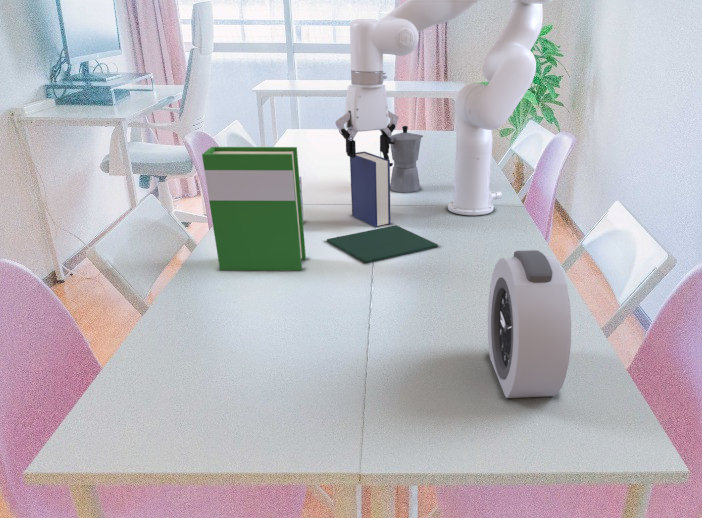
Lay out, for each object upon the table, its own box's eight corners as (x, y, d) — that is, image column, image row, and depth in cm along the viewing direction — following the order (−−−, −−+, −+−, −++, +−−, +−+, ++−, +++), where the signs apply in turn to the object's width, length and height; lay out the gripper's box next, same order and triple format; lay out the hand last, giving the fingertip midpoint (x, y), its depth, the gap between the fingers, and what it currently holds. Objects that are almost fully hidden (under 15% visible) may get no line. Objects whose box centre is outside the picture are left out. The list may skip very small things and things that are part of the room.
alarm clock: (485, 345, 114) (493, 232, 103) (527, 343, 114) (540, 231, 104) (511, 413, 96) (525, 284, 85) (562, 410, 96) (581, 282, 86)
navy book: (366, 213, 180) (364, 151, 171) (390, 224, 172) (389, 160, 163) (352, 215, 178) (349, 153, 169) (375, 227, 169) (374, 162, 161)
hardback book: (305, 258, 150) (296, 147, 137) (301, 270, 143) (291, 154, 131) (227, 258, 150) (211, 146, 137) (219, 270, 143) (201, 154, 131)
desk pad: (396, 227, 169) (396, 225, 169) (437, 246, 157) (437, 244, 156) (326, 241, 160) (326, 239, 159) (365, 263, 147) (365, 260, 147)
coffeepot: (411, 182, 208) (412, 121, 198) (431, 188, 202) (432, 125, 192) (372, 190, 200) (371, 126, 190) (391, 197, 194) (391, 131, 184)
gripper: (389, 75, 164) (389, 148, 173) (327, 79, 155) (330, 155, 164) (406, 79, 158) (405, 153, 167) (342, 82, 150) (345, 161, 159)
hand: (368, 154), depth 166 cm, fingers open, 9 cm apart
